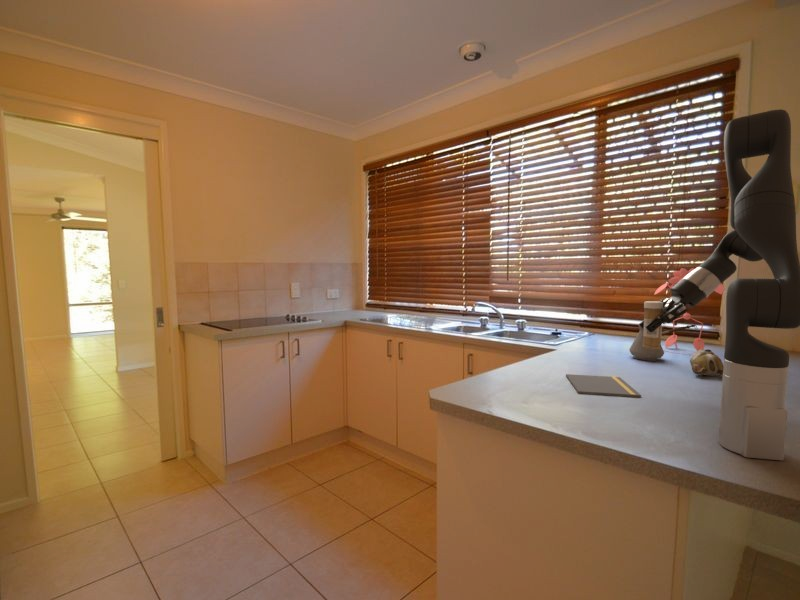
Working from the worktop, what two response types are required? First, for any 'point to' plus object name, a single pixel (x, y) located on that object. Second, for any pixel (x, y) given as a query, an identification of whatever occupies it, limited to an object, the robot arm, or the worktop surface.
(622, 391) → the line mat
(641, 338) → the coffee pot
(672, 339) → the pink flower figure
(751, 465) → the worktop surface
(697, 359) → the ceramic sculpture
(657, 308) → the sprinkles bottle
